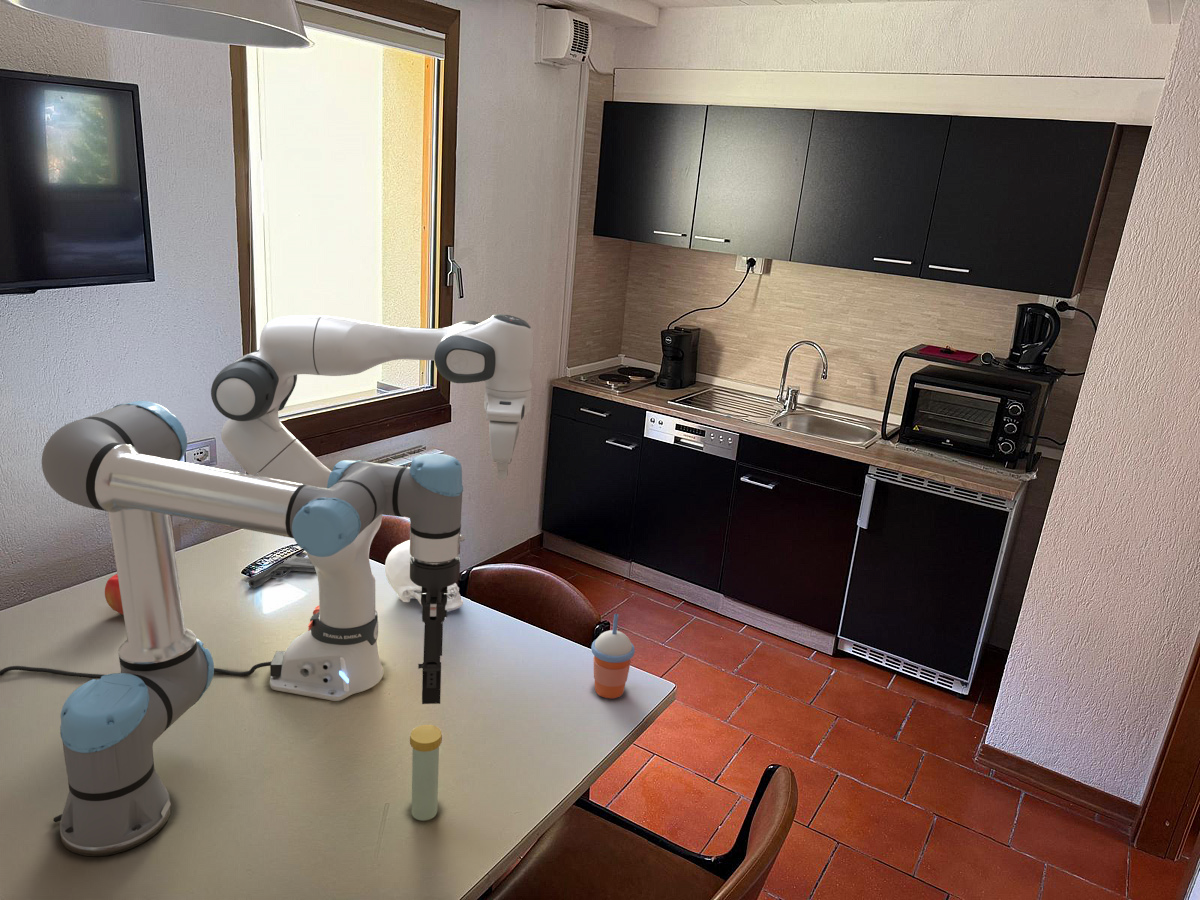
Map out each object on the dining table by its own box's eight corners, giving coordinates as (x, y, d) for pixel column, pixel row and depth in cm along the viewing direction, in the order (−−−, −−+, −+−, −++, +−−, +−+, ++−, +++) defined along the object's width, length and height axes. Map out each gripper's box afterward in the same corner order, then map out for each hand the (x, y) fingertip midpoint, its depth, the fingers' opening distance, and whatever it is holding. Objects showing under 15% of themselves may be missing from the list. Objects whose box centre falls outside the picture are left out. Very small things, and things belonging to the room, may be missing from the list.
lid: (447, 737, 141) (447, 728, 140) (432, 755, 136) (432, 746, 136) (419, 729, 142) (419, 721, 142) (403, 747, 137) (404, 738, 137)
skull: (448, 622, 203) (451, 561, 199) (372, 599, 211) (374, 540, 207) (477, 602, 215) (480, 543, 211) (405, 581, 223) (406, 524, 219)
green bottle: (441, 806, 145) (443, 732, 140) (429, 823, 141) (431, 747, 136) (419, 800, 146) (420, 725, 141) (406, 816, 142) (407, 740, 137)
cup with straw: (626, 706, 176) (634, 628, 171) (583, 698, 178) (590, 621, 173) (633, 683, 185) (641, 608, 180) (592, 675, 186) (599, 601, 181)
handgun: (292, 594, 211) (247, 586, 213) (325, 565, 228) (283, 558, 229) (291, 586, 211) (246, 578, 212) (325, 557, 227) (283, 550, 229)
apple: (157, 617, 195) (154, 577, 192) (109, 626, 190) (105, 586, 187) (151, 599, 203) (147, 561, 200) (105, 608, 198) (101, 568, 195)
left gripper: (460, 593, 118) (456, 724, 125) (460, 524, 142) (456, 637, 148) (404, 593, 117) (403, 725, 124) (414, 523, 141) (412, 637, 147)
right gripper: (496, 387, 172) (494, 452, 176) (485, 413, 153) (482, 486, 157) (528, 390, 172) (524, 455, 176) (520, 416, 153) (516, 488, 157)
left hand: (432, 677), depth 136 cm, fingers open, 13 cm apart
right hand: (504, 470), depth 166 cm, fingers open, 8 cm apart
